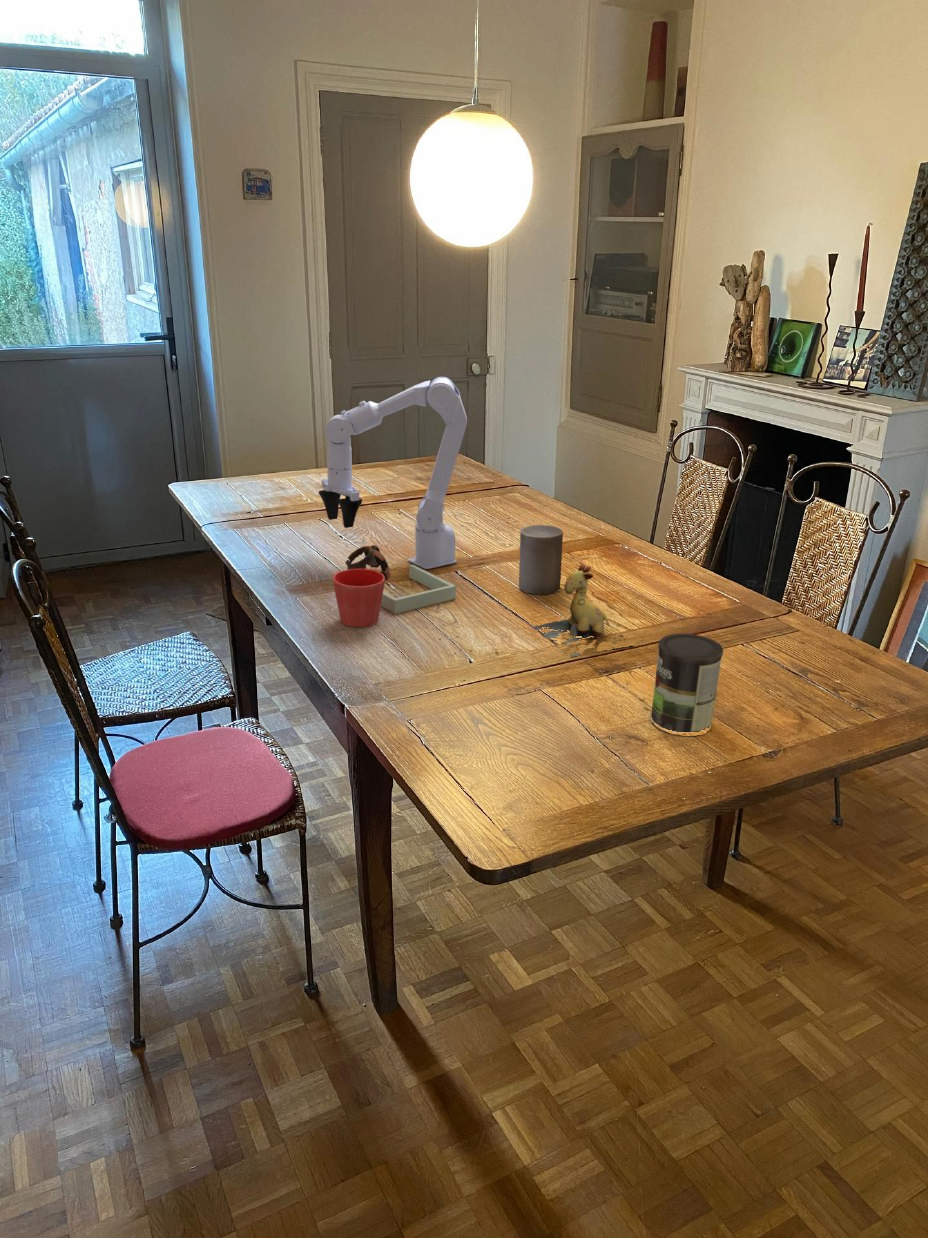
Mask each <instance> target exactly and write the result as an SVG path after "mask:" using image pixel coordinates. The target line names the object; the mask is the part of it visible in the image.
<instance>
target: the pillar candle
mask: <svg viewBox="0 0 928 1238" xmlns="http://www.w3.org/2000/svg"><path fill="white" fill-rule="evenodd" d="M519 534H520V535H519V564H518V565H519V566H518V567H519V568H518V588H519V590H521V591H522V590H523V591H522V592H523V593H526V592H527V593H526V594H529V593H531V594H530V595H535V594H538V595H539V596H540V595H541V594H546V595H551V594H556V593H558V592H559V591H560V590H561V578H562V560H563V543H564V541H563V540H564V538H563V537H564V532H563V530H562V529H561V528H559V527H557V526H555V525H554V526H553V525H548V524H534V525H526V526H524V527H522V528H520V531H519ZM559 589H560V590H559ZM558 590H559V591H558ZM555 592H556V593H555ZM538 595H537V596H538ZM541 596H542V595H541Z"/></svg>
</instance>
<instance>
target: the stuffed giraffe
mask: <svg viewBox="0 0 928 1238" xmlns="http://www.w3.org/2000/svg"><path fill="white" fill-rule="evenodd" d="M591 569H592V566H590V565H589V566H587V567H586V564H585V563H581V565H580V566H579V568H578V569H577V570H574V571H573V572H572V573H571V574H569V576H568V578H567V579H566V581H565V583H564V585H563V588H564V589H563V590H564V592H565V593H566V595H571V594H573V593H574V595H573V596H572V600H571V602H570V605H569V611H570V614H571V615H570V617H569V618H568V619H562V620H560V621H558V620H556V621H552V622H547V623H543V624H539V625H535V626H533V627H535V628H534V629H535V630H539V629H540V630H542V629H543V628H542V627H546V628H544V629H543V630H545V629H547V627H549V628H548V629H554V630H558V631H551V632H550V631H547V632H548V633H546V632H542V633H543V634H542V635H543V636H544V637H545V639H547V638H549V639H550V638H557V637H556V636H559V635H558V634H559V633H564V632H567V630H569V631H570V634H571V635H572V636H575V637H576V636H582V638H587V637H589V636H594V637H597V638H596V639H599V638H598V637H600V636H601V637H602V635H603V634H604V629H605V626H604V624H605V623H604V621H605V622H606V626H607V627H610V621H609V620H608V617H607V615H606V614H605V612H604V611H603V610H601V609H600V608H599V607H598V606H596V605H595V604H593V603H589V602H587V601H586V595H587V591H588V585H589V580H591V579H593V577H594V575H593V573H590V571H591ZM537 627H538V628H537ZM559 629H560V630H559ZM561 630H563V631H561ZM570 634H569V635H570ZM571 635H570V636H571ZM572 636H571V637H572ZM601 637H600V638H601ZM572 638H573V639H570V638H569V640H567V641H565V642H561V643H571V641H578V640H579V639H582V638H574V637H572ZM554 641H557V640H554ZM551 642H552V641H551ZM552 644H553V642H552ZM565 645H567V644H565ZM585 645H589V644H585ZM574 653H575V652H574ZM574 653H573V654H574ZM578 654H579V653H575V654H574V655H572V654H571V655H570V658H574V657H580V656H581V654H580V655H578Z"/></svg>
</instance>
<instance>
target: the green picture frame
mask: <svg viewBox="0 0 928 1238" xmlns="http://www.w3.org/2000/svg"><path fill="white" fill-rule="evenodd" d="M408 568H409V571H408V572H409V576H408V577H409V578H410V579H412V580H414V581H415V582H417V583H419V584H421V585H423V586H425V587H427V588H429V590H425V591H422V592H416V593H413V594H409V595H408V594H407V595H405V596H400V597H397V598H396V597H394V596H393V595H392V594H389V593H388V592H386V591H384V590H383V595H382V601H381V607H383V609H385V610H388V611H389V612H391V613H392V614H395V615H396V614H400V613H404V612H407V611H412V610H416V609H419V608H420V609H421V608H423V607H428V606H431V605H435V604H440V603H444V602H448V601H453V600H456V598H457V594H456V593H457V586H456V585H455V584H453V583H451V582H448V581H447V580H445V579H443V578H441V577H438V576H437V575H435V574H433V573H431V572H429V571H426V569H424V568H422V567H420V566H418V565H416V564H411V565H409V567H408Z"/></svg>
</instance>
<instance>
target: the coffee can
mask: <svg viewBox="0 0 928 1238" xmlns="http://www.w3.org/2000/svg"><path fill="white" fill-rule="evenodd" d="M657 647H658V652H657V653H658V654H657V662H656V670H655V678H654V679H655V680H654V687H653V688H654V690H653V698H652V706H651V714H650V717H651V718H652V720H653V722H654V723H656V724H657V725H659V726H660V727H662V728H665V729H667V730H672V731H676V732H699V731H701V730H705V729H706V728H709V727H710V725H711V724H712V725H713V719H714V718H713V717H714V711H715V704H716V703H715V702H716V696H717V690H718V684H719V676H720V669H721V663H722V657H723V654H724V648H723V646H722V645H721V644H720V643H719V642H718V641H716V640H713V639H711V638H709V637H706V636H702V635H700V634H699V635H698V634H694V633H693V634H692V633H675V634H673V633H672V634H668V635H665V636H664V637H662V638H660V640H659V641H658V646H657Z"/></svg>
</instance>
